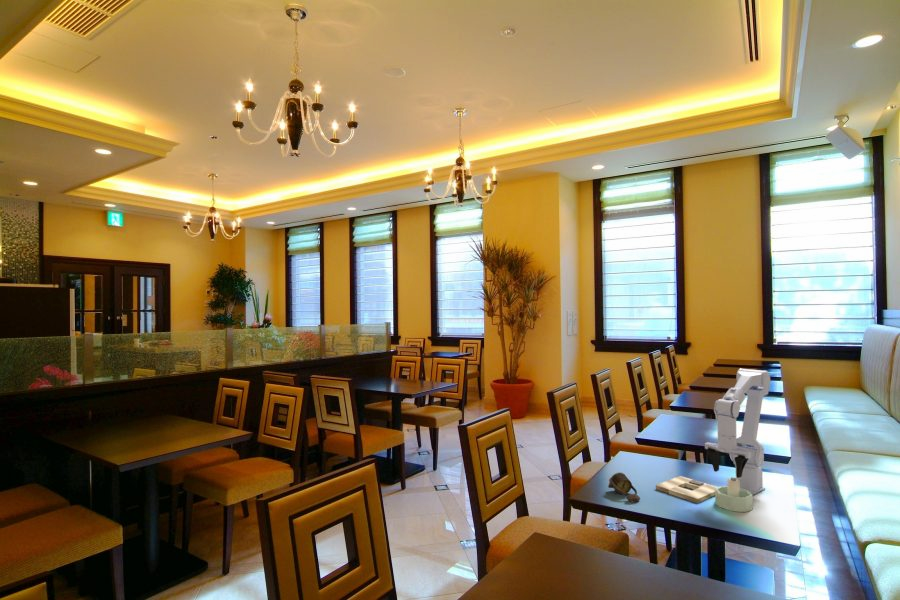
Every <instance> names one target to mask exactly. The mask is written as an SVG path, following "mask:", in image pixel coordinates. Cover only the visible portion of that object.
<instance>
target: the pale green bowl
mask: <svg viewBox="0 0 900 600" xmlns="http://www.w3.org/2000/svg"><path fill="white" fill-rule="evenodd" d="M717 487H718V488H716V489H715V496H714V498H715V504H716V506H717V507H720V508H722V509H723V510H727V511H731V512H735V513H748V512H750V511H752V510H753V494H751V493H750V492H749V491H748V490H744V489H741V488H740V497H732V496H728V495H727V485H720V486H717Z"/></svg>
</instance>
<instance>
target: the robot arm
mask: <svg viewBox="0 0 900 600" xmlns="http://www.w3.org/2000/svg"><path fill="white" fill-rule="evenodd" d="M735 377H736V383H735V385H734V387H729V388H728V390H727V391H726V393H725V394H724V395H723V397H722V398H720V399H717V400H716V401H715V402H714V407H713V412H714V414H715V420H716V421H717V422H716V423H717V424H716V425H717V443H715V442H714V443H713V442H710V441H709V442H705V443H704V449H705V450H706V455H707V456H708V458H709V460H710V461H711V464H712V465H711V466H712V469H713V472H715V473H716V472H719V470H720V453H725V454H729V457H730V460H731V461H732V462H733V465H734V466H735V478H736V479H737V480H739V481H740V488H741V489H744V490H748V491H749V492H750V493H751V494H752V496H753V495H756V494H758V493H760V492H762V491H764V490H766V487H765V486H764V485H763V483H764V482H763V481H764V480H763V479H764V478H763V469H762V468H761V467H762V466H763V464H764V460H765V455H764V452H765V449H764V446H763V445H762V443H760V442H759V441H758V439H757V437H758V430H759V424H760V417H761V410H762V406H763V405H762V404H763V399H764V396H767V395H769V391H770V386H771V375H770V373H769V371H768V370H761V369H760V370H759V369H758V370H757V369H750V368H749V369H748V368H741V367H740V368H739V369H738V370H737V372H736V376H735ZM746 395H747V399H746ZM745 399H746V405H745V411H744V416H743V417H744V418H743V422H742V423H743V424H742V430H741V433H740V434H741V436H739V437H737V418H738V417H739V414H740V410H741V405H742V404H743V402H744V400H745Z"/></svg>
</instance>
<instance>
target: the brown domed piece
mask: <svg viewBox="0 0 900 600" xmlns="http://www.w3.org/2000/svg"><path fill="white" fill-rule="evenodd" d="M608 482H609V483H608V485H607V487H608V488H609V489H613V490H614V491H615V493H617V494H618V495H624V496H626V500H627V501H629V502H631V503H636V502H639V501H640V500H641V498H640V496H639V495H638V491H637V489H636V488H635V487H634V486H633V484H632V482H631V480H630V479H629V478H628V477H627V476H626V475H625V473H623V472H616V473H613V475H612V476H611V477H609V480H608ZM631 490H632V491H633V492H634V493H630V491H631Z"/></svg>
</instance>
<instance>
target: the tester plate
mask: <svg viewBox="0 0 900 600" xmlns="http://www.w3.org/2000/svg"><path fill="white" fill-rule="evenodd" d="M718 487H719V486H716V485H712V484H708V483H706V482H703V481H699V480H697V479H693V478H688V477H686V476H682V475H679V476H676V477H673V478H671V479H669V480H666V481H662V482H660V483H658V484H656V485H655V490H658V491H660V492H662V493H666V494H669V495H671V496H675V497H678V498H682V499H685V500H687V501H691V502H694V503H696V504H699V503H702V502H704V501H706V500H708V499H711V498H713V497H715V489H716V488H718ZM687 488H688V489H687ZM691 489H692V490H691Z"/></svg>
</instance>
